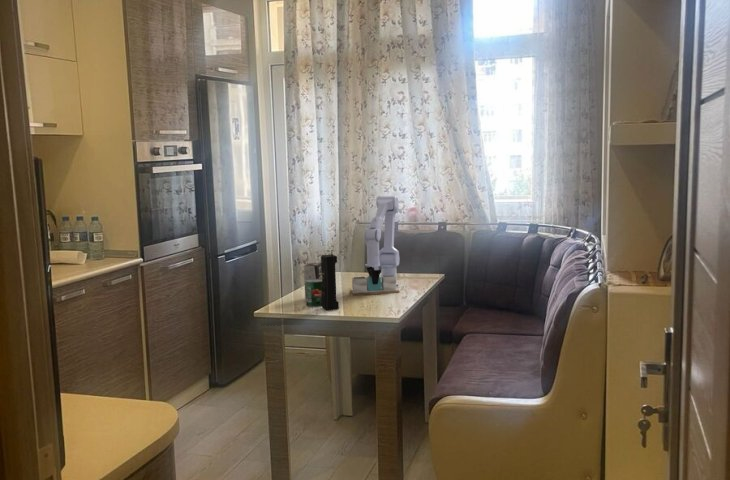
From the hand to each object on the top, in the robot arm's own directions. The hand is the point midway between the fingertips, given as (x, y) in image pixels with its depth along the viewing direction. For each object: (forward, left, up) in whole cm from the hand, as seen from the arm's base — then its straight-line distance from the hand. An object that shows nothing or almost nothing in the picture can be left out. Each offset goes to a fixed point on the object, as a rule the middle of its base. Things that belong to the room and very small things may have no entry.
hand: (374, 283), depth 322 cm
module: (0, 0, -3) cm, 3 cm away
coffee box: (+8, -29, -4) cm, 30 cm away
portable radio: (+30, -25, -4) cm, 39 cm away
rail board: (0, 0, -4) cm, 4 cm away
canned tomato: (+21, -30, -5) cm, 37 cm away
